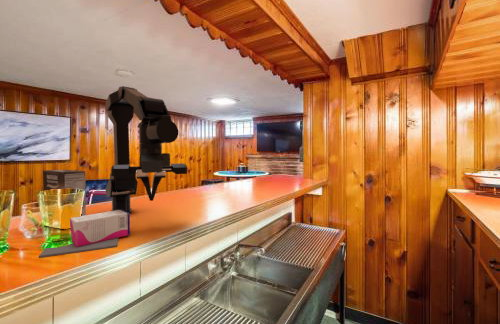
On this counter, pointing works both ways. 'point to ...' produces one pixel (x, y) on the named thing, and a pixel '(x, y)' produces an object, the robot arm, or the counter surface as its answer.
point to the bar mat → (79, 248)
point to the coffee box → (65, 181)
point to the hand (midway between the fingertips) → (151, 200)
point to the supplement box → (99, 227)
